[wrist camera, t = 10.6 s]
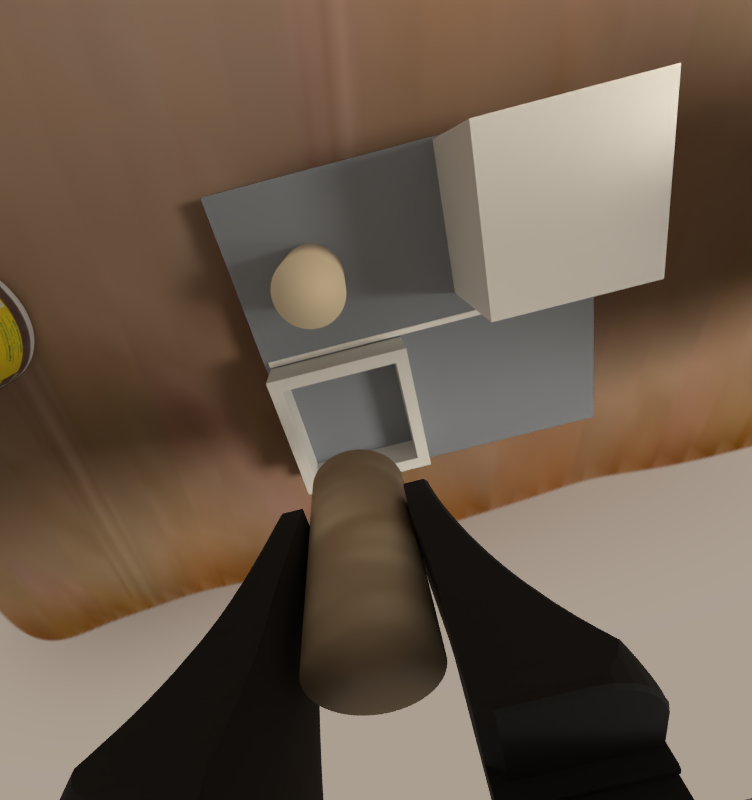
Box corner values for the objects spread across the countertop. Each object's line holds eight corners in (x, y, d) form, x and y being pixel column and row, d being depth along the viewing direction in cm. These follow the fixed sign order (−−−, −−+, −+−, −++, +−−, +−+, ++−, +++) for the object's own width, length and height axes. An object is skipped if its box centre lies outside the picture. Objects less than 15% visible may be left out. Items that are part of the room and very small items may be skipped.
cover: (586, 98, 14) (681, 62, 10) (586, 259, 17) (664, 279, 13) (432, 139, 14) (469, 118, 11) (454, 293, 17) (491, 322, 13)
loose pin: (392, 439, 13) (433, 608, 8) (411, 510, 15) (457, 696, 9) (300, 462, 13) (278, 645, 8) (327, 531, 15) (324, 727, 9)
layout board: (576, 100, 15) (654, 69, 12) (580, 405, 21) (633, 450, 17) (209, 197, 16) (169, 198, 12) (312, 472, 21) (307, 531, 18)
